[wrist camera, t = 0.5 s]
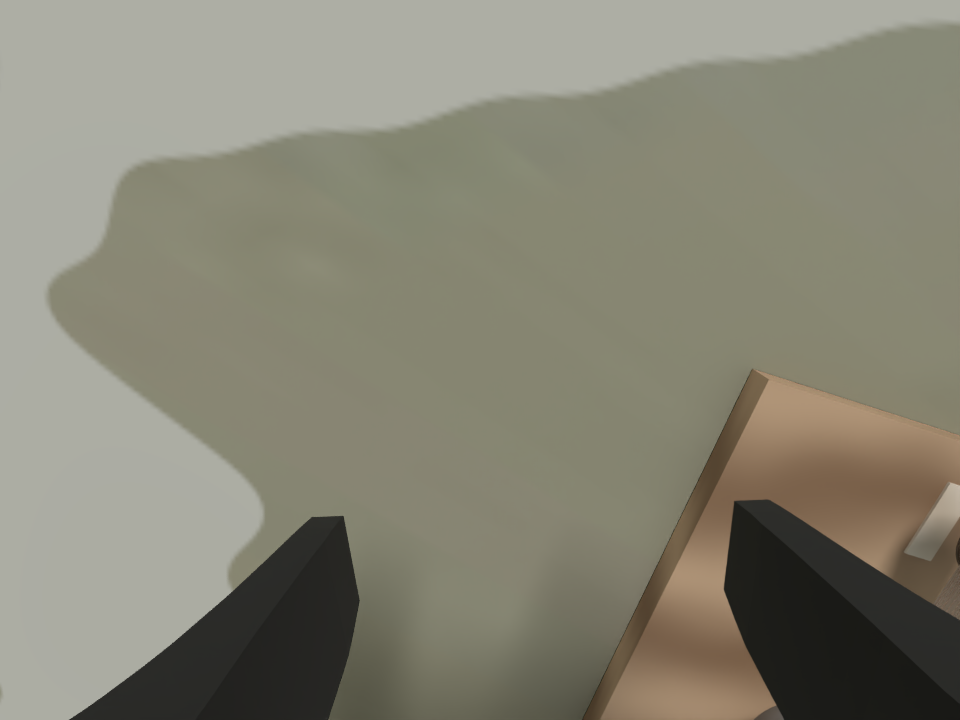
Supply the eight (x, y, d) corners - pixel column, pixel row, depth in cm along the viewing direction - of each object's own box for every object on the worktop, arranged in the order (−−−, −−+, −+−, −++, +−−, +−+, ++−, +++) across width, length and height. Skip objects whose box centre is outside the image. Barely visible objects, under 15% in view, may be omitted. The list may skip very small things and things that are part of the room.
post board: (970, 910, 26) (1028, 997, 23) (545, 795, 25) (551, 872, 22) (1291, 542, 20) (1423, 598, 17) (752, 368, 19) (797, 398, 16)
